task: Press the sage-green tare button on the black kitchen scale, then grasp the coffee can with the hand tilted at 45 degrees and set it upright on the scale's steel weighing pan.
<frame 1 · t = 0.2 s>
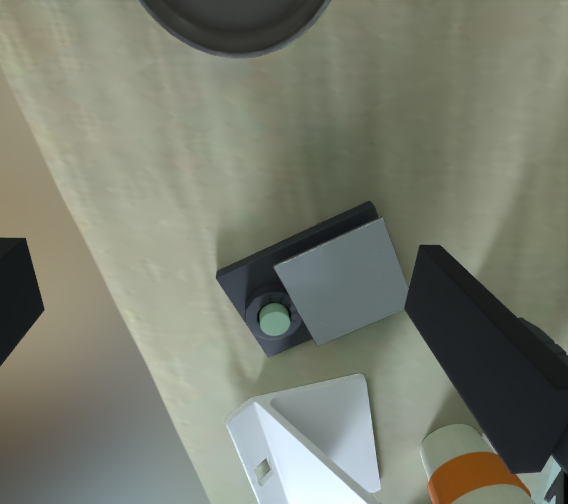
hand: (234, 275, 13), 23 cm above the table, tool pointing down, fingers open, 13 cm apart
scale: (313, 281, 41), on the table
reusable coffee cup: (448, 443, 56), on the table
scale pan: (346, 285, 38), resting on scale
tablet stand: (309, 447, 54), on the table
tare button: (274, 319, 38), point 3 cm above the table, slide at 0.1 cm
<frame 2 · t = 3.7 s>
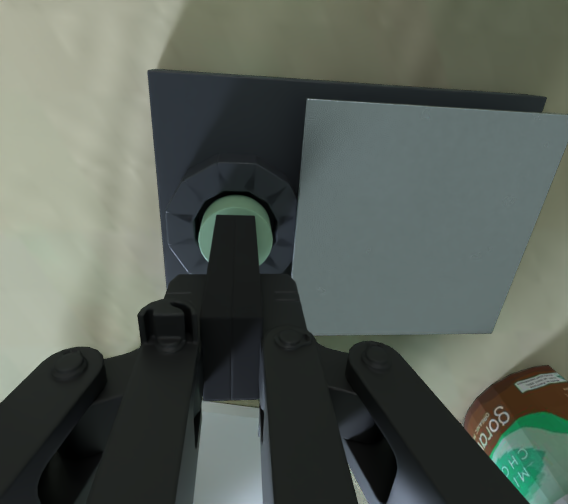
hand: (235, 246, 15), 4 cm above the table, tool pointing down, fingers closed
scale: (334, 208, 20), on the table
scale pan: (413, 234, 17), resting on scale
food container: (488, 411, 29), on the table
tare button: (236, 233, 16), point 3 cm above the table, slide at 0.0 cm, touching gripper
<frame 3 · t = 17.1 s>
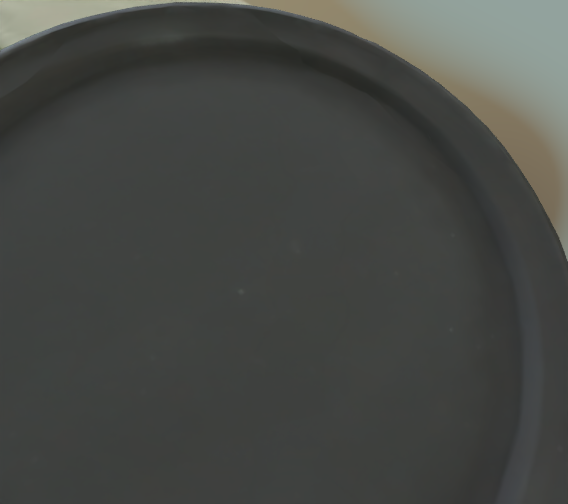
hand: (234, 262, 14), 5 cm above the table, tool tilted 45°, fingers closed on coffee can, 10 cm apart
coffee can: (234, 354, 18), on the table, touching gripper
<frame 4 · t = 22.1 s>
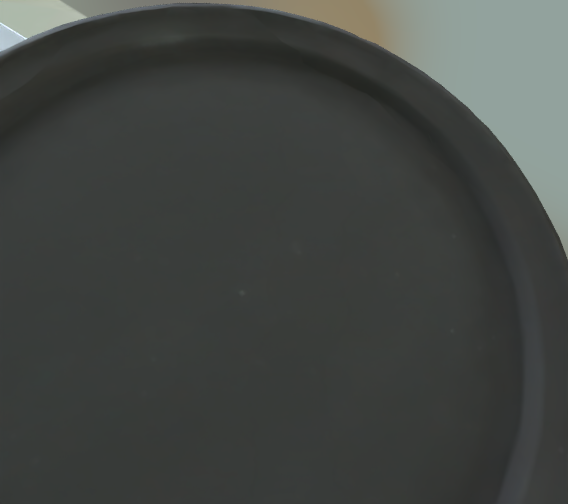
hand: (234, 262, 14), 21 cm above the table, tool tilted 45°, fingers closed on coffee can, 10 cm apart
coffee can: (234, 354, 18), point 16 cm above the table, touching gripper
when the fingers open (9 cm above the table, at t = 27.4 s): coffee can stays where it is, resting on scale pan.
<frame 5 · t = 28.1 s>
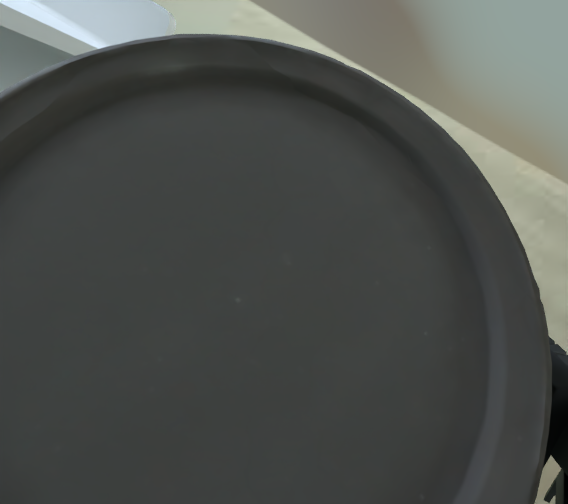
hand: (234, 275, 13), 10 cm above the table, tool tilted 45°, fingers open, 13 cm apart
coffee can: (232, 354, 19), point 3 cm above the table, touching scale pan
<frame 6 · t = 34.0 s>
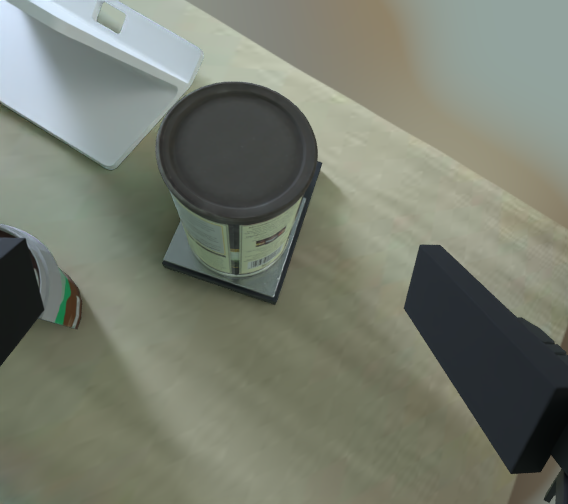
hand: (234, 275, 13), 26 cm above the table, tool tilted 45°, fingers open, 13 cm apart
coffee can: (237, 228, 38), point 3 cm above the table, touching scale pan
scale: (247, 214, 42), on the table
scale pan: (238, 228, 38), resting on scale
food container: (44, 286, 37), on the table
tablet stand: (76, 65, 45), on the table
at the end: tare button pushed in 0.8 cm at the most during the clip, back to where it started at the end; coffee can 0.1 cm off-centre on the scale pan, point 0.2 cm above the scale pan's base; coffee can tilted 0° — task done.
